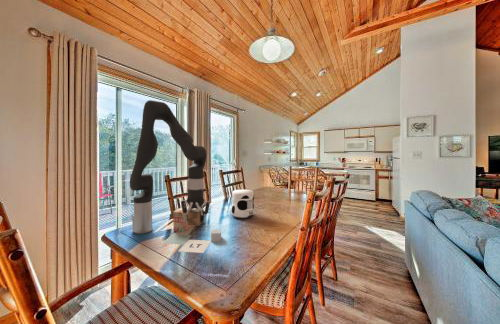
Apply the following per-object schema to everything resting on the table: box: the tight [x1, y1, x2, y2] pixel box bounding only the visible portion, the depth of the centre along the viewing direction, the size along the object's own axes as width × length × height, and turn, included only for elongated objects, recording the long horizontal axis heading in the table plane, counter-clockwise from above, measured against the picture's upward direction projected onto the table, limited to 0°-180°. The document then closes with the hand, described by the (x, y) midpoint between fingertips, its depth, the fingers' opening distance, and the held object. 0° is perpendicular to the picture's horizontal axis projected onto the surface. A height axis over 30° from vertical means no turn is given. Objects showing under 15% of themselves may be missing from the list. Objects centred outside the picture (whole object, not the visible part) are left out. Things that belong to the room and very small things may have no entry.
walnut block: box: [187, 209, 202, 227], centre depth 95 cm, size 6×6×6 cm
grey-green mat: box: [162, 233, 192, 245], centre depth 103 cm, size 11×11×1 cm
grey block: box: [210, 228, 222, 243], centre depth 103 cm, size 5×5×5 cm
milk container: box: [230, 189, 256, 219], centre depth 141 cm, size 17×17×18 cm
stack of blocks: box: [172, 205, 196, 233], centre depth 122 cm, size 21×6×12 cm, turn 169°
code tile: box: [178, 239, 212, 254], centre depth 95 cm, size 12×12×1 cm
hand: (195, 221), depth 95 cm, fingers closed on walnut block, 5 cm apart
